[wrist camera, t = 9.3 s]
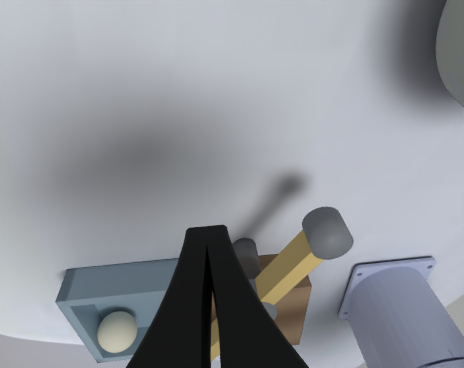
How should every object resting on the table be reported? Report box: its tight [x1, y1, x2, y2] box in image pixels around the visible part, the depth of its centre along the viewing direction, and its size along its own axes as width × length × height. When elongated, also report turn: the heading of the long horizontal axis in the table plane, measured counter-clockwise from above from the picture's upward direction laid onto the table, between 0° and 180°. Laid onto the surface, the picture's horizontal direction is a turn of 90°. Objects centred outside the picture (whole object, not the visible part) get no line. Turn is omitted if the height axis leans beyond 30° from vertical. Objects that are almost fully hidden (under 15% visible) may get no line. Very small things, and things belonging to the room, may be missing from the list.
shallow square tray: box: [55, 258, 179, 363], centre depth 29 cm, size 11×11×3 cm
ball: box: [97, 311, 137, 353], centre depth 29 cm, size 4×4×4 cm
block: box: [212, 238, 312, 345], centre depth 28 cm, size 12×9×4 cm
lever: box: [211, 207, 353, 361], centre depth 23 cm, size 20×3×2 cm, turn 149°
